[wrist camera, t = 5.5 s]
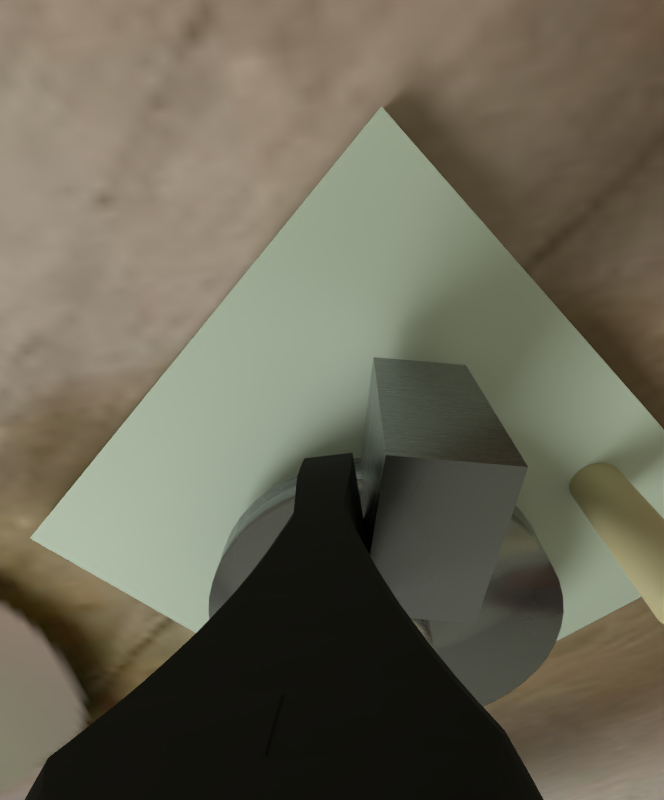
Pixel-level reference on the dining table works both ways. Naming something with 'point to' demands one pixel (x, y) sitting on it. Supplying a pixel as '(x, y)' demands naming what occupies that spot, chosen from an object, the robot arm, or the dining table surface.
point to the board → (349, 390)
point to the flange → (436, 526)
